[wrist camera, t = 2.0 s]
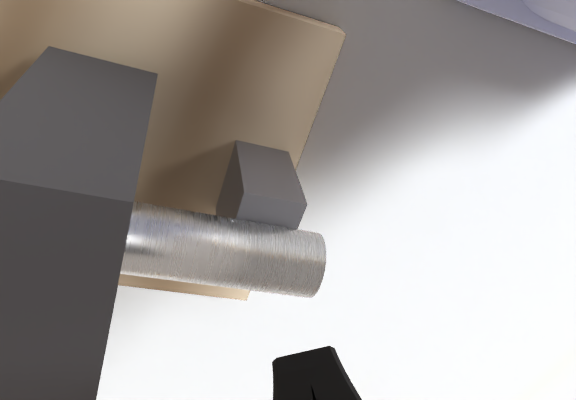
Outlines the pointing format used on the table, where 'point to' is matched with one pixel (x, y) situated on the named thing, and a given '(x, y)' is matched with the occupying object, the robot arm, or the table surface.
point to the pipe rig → (204, 132)
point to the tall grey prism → (65, 217)
